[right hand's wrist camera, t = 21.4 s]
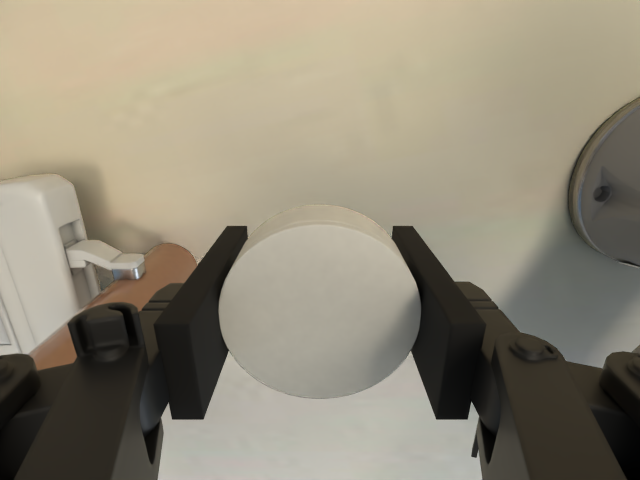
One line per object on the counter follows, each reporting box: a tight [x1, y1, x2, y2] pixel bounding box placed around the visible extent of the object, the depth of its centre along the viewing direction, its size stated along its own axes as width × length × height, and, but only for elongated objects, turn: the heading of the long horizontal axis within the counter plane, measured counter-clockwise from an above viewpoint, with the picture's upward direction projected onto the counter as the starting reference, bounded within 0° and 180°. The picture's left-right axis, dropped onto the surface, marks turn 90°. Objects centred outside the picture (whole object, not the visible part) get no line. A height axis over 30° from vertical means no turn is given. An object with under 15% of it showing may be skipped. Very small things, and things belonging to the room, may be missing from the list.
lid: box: [218, 204, 421, 399], centre depth 11 cm, size 6×6×2 cm
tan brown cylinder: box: [28, 243, 197, 370], centre depth 25 cm, size 5×5×19 cm
